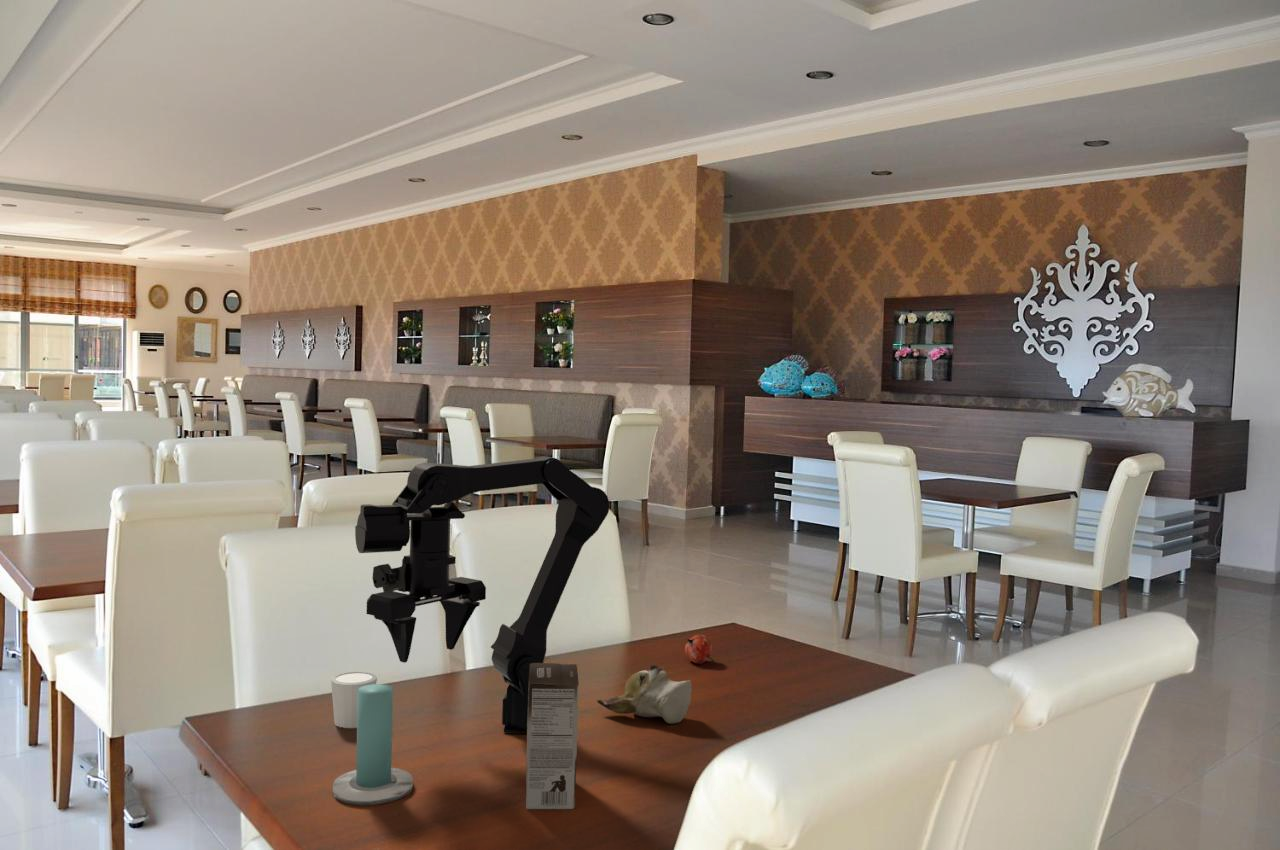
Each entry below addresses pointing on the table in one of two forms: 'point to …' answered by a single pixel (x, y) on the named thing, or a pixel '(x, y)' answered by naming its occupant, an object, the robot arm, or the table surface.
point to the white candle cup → (348, 696)
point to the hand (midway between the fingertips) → (427, 655)
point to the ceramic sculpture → (652, 696)
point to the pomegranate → (698, 648)
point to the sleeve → (374, 735)
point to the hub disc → (372, 789)
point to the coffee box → (552, 736)
